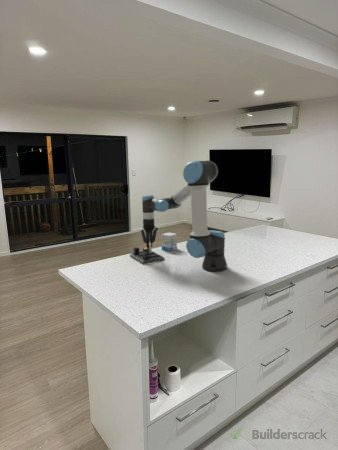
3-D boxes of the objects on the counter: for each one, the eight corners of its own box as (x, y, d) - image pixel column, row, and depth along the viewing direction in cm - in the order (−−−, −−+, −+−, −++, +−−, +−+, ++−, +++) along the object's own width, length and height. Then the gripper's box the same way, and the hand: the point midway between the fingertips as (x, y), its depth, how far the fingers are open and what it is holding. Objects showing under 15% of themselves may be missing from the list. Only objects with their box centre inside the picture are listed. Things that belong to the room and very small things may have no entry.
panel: (164, 259, 211) (164, 250, 209) (143, 264, 203) (142, 254, 201) (150, 252, 227) (150, 243, 226) (130, 256, 219) (129, 247, 218)
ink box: (170, 251, 230) (170, 235, 227) (161, 249, 235) (160, 234, 232) (177, 248, 236) (177, 233, 234) (168, 246, 241) (167, 231, 239)
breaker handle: (149, 255, 214) (148, 248, 213) (145, 256, 212) (144, 249, 211) (146, 254, 216) (146, 247, 215) (143, 255, 215) (142, 247, 214)
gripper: (154, 216, 217) (155, 249, 222) (137, 218, 210) (138, 252, 215) (159, 218, 211) (160, 251, 216) (142, 220, 204) (143, 255, 209)
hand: (149, 252), depth 216 cm, fingers closed
